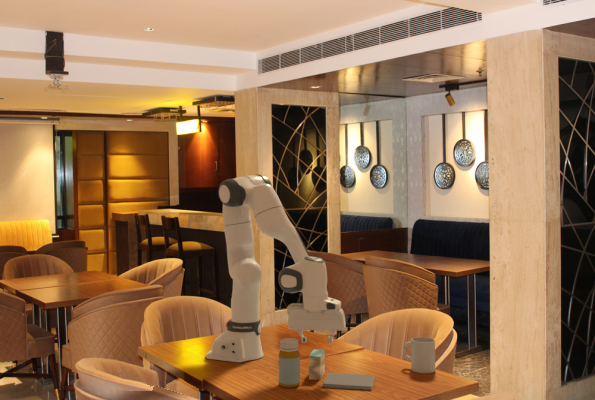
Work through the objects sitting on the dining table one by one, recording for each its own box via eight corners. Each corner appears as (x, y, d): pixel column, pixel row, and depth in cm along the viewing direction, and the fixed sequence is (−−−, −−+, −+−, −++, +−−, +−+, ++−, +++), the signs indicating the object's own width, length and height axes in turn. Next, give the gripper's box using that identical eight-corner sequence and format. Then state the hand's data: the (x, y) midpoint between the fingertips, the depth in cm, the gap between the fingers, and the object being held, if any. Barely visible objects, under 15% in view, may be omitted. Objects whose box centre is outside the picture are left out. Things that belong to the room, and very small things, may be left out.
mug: (439, 369, 208) (438, 338, 208) (429, 375, 202) (429, 343, 201) (408, 363, 215) (408, 334, 215) (398, 369, 209) (398, 339, 209)
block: (309, 379, 198) (308, 356, 198) (313, 371, 207) (313, 349, 207) (320, 380, 197) (320, 356, 197) (324, 372, 206) (324, 349, 206)
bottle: (278, 382, 195) (278, 337, 195) (298, 381, 196) (298, 337, 196) (279, 388, 188) (279, 343, 188) (300, 388, 189) (300, 342, 189)
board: (322, 387, 189) (322, 383, 189) (328, 376, 201) (328, 372, 201) (371, 390, 186) (371, 386, 186) (374, 378, 198) (374, 375, 198)
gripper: (284, 304, 200) (286, 344, 201) (342, 305, 196) (344, 345, 196) (288, 301, 207) (290, 339, 207) (345, 301, 202) (347, 340, 202)
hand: (317, 342), depth 201 cm, fingers open, 8 cm apart
